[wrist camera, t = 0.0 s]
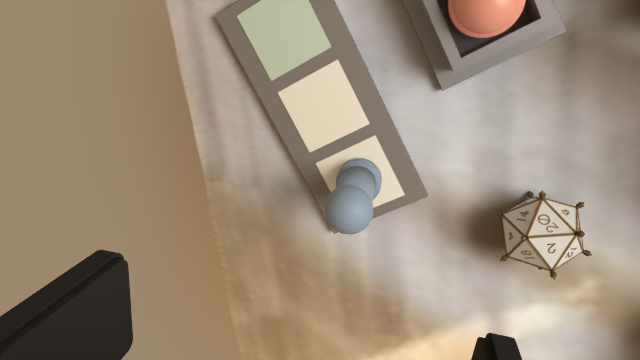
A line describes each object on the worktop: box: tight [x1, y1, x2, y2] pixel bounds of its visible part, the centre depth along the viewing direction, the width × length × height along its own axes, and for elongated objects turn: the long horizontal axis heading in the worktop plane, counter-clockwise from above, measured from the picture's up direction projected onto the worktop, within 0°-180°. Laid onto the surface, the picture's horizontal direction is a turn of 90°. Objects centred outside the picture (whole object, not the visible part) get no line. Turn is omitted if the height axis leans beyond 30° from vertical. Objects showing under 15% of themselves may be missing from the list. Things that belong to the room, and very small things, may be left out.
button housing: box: [402, 0, 566, 90], centre depth 38 cm, size 12×12×5 cm
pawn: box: [324, 158, 382, 234], centre depth 42 cm, size 5×5×11 cm
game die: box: [494, 191, 592, 280], centre depth 42 cm, size 9×8×10 cm
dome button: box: [447, 0, 526, 38], centre depth 35 cm, size 6×6×6 cm
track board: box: [215, 0, 428, 234], centre depth 46 cm, size 28×12×1 cm, turn 28°
